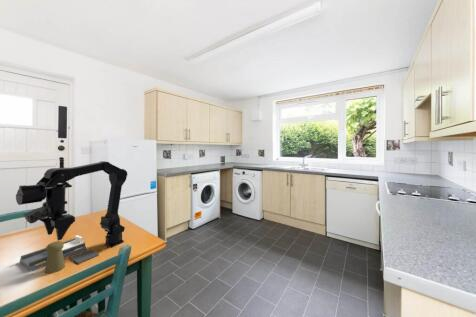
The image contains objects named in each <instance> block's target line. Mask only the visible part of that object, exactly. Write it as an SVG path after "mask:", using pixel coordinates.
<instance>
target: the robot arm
mask: <svg viewBox="0 0 476 317" xmlns="http://www.w3.org/2000/svg"><path fill="white" fill-rule="evenodd" d="M100 171H103V173H104V174H107V175H108V180H109V183H110V188H109V190H110V191H109V197H108V203H107V210H106V214H104V216H101V217H100V222H99V225H100V228H101V229H103V230H104V232H105V233H106V235H105V242H104V245H106V246H109V247H111V248H113V247H115V246H117V245H120V244H122V243H124V242H125V241H124V240H123V232H125V228H126V227H125V226H123V225H122V224H121V218H120V216H119V208H120V202H121V201H120V200H121V193H122V187H123V185H124V184H125V182H126V181H127V177H128V171H127V170H126V169H124V168H120V167H118V166H116V165H114V164H112V163H110V162H109V161H98V162H95V163H94V162H93V163H89V164H83V165H78V166H74V167H73V166H72V167H53V168H48V169H46V171H45V172H44V174H43V177H41V179H40V180H39V181H38V182H37V183H36V184H30V185H19V186H18V189H17V191H16V194H15V200H16V204H17V205H19V206H20V205H27V204H34V203H40V202H43V201H44V200H45V202H43V203H42V206H41V207H37V208H35V209H33V210H30V211H27V212H25V213H24V214H23V217H24V219H25V220H26V223H29V224H34V223H37V222H38V221H41V222H42V223H43V225H44V228H45V230H46V233H47V235H48V236H49V235H52V234H53V232H54V230H55V232H56V238H57V241H62V240H63V239H64V237H65V235H66V233H67V231H69V230H68V229H69V228H70V227H71V226H72V224H74V223H75V222H76V217H75V216H74V215H72V214H70V213H68V211H67V210H66V205H67V204H68V200H66V189H67V188H72V187H73V185H72V184H70V183H69V181H71V180H73V179H75V178H76V177H79V176H83V175H84V176H85V175H88V174H93V173H97V172H100Z"/></svg>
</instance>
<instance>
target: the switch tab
mask: <svg viewBox="0 0 476 317" xmlns="http://www.w3.org/2000/svg"><path fill="white" fill-rule="evenodd" d="M74 238H75V240H74V241H71V242H68V243H65V244H64V246H63V248H62V250H65V249H68V248H71V247H73V246H76V245H79V244H82V243H84V242H83V239H84V238H83V237H82V236H81V235H78V234H77V235H75V237H74Z"/></svg>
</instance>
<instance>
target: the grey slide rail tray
mask: <svg viewBox="0 0 476 317" xmlns="http://www.w3.org/2000/svg"><path fill="white" fill-rule="evenodd" d="M74 240H75V237H74V238H72V239H71V238H70V239H69V240H65V241H62V242H63V244H65V243H68V242H71V241H74ZM85 251H87V246H86V243H85V242H83V243H82V244H79V245H76V246H73V247H71V248H68V249H65V250H62V253H63V257H64V259H66V258H70V257H72V256H75V255H77V254H80V253H82V252H85ZM47 256H48V252H47V251H46V247H45V248H41V249H39V250H35V251H32V252H28V253H26V254H23V255H21V256H20V259H19V263H20V264H21V265H22V266H23V267H24V268H26V269H27V270H29V271H30V272H33V271H35V270H39V269H41V268H43V267H46V262H47Z"/></svg>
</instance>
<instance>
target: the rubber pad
mask: <svg viewBox="0 0 476 317" xmlns="http://www.w3.org/2000/svg"><path fill="white" fill-rule="evenodd" d="M99 256H100V254H99V253H98V252H96V251H94V250H92V249H86V250H84V251H81V252H79V253H76V254H74V255H71V256H69V259H70V260H71V261H72V262H74V263H76V264H77V265H80V264H82V263H84V262H87V261H90V260H92V259H94V258H97V257H99Z"/></svg>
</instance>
